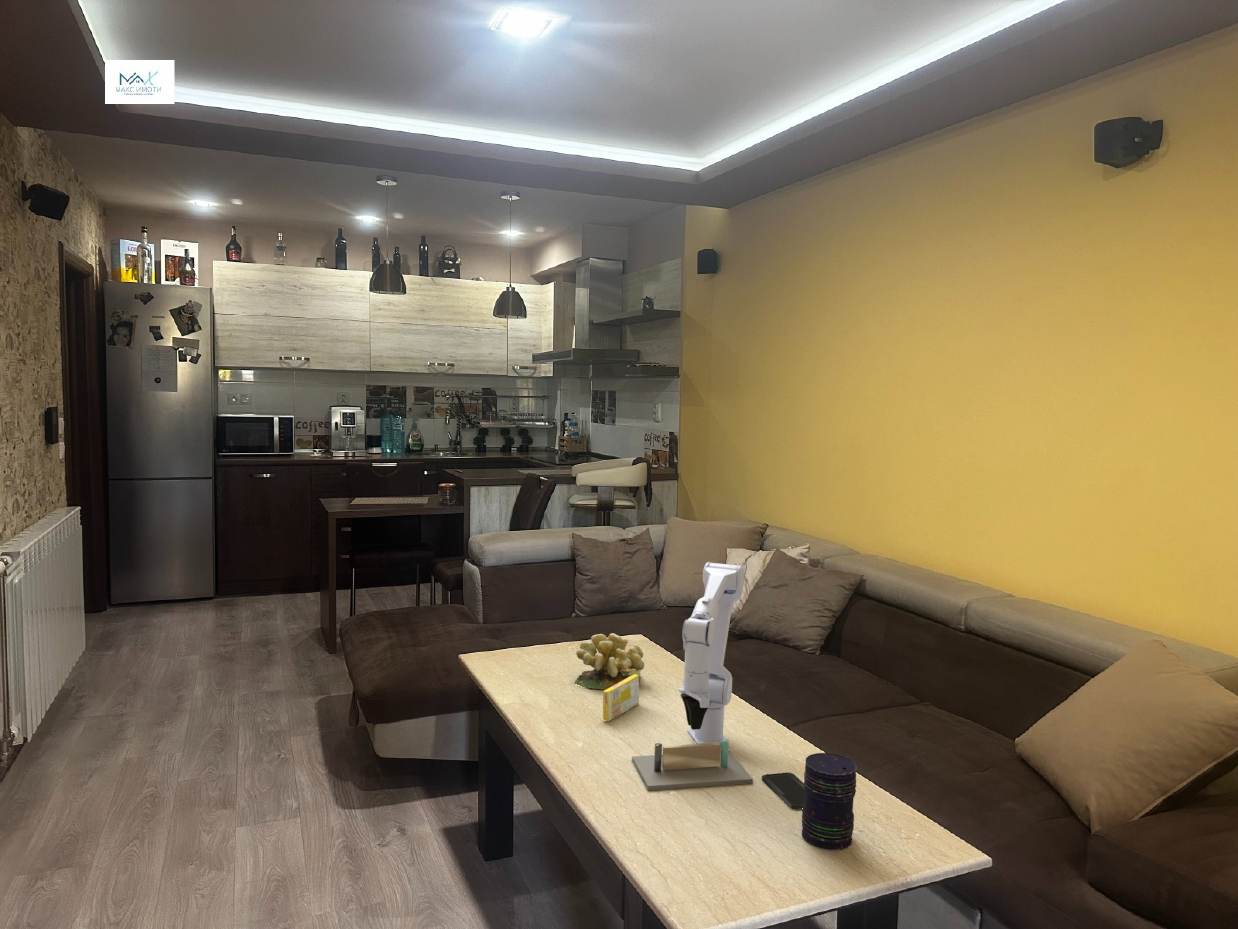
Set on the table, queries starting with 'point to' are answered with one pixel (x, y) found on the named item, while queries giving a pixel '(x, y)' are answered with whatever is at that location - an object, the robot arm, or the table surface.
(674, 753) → the gate
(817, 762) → the storage jar
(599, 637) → the coral
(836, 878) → the table surface
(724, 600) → the robot arm
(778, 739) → the table surface
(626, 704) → the candy box
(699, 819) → the table surface
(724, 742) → the latch post
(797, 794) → the phone
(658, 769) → the hinge post
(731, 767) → the gate board
